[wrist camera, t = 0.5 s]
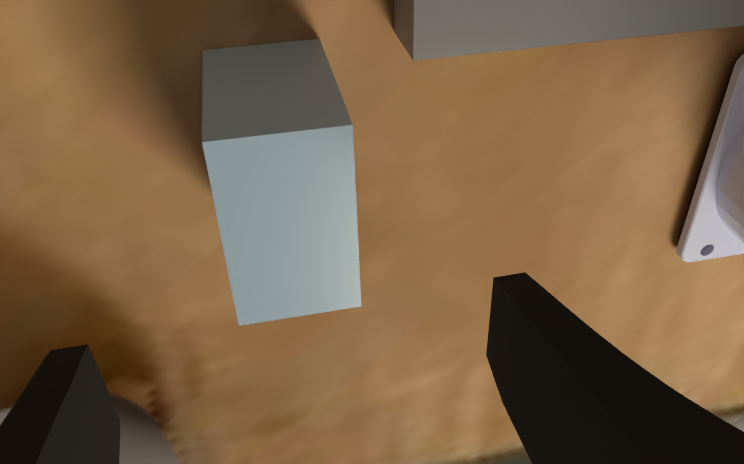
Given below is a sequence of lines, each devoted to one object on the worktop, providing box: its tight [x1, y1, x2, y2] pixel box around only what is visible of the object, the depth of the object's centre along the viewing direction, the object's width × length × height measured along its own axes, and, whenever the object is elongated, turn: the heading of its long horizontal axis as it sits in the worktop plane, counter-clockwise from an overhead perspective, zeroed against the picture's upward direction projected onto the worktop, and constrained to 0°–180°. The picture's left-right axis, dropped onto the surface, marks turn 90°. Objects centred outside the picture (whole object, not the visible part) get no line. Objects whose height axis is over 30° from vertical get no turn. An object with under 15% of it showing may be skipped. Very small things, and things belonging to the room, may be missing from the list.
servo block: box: [202, 39, 361, 325], centre depth 17 cm, size 3×5×5 cm, turn 1°
